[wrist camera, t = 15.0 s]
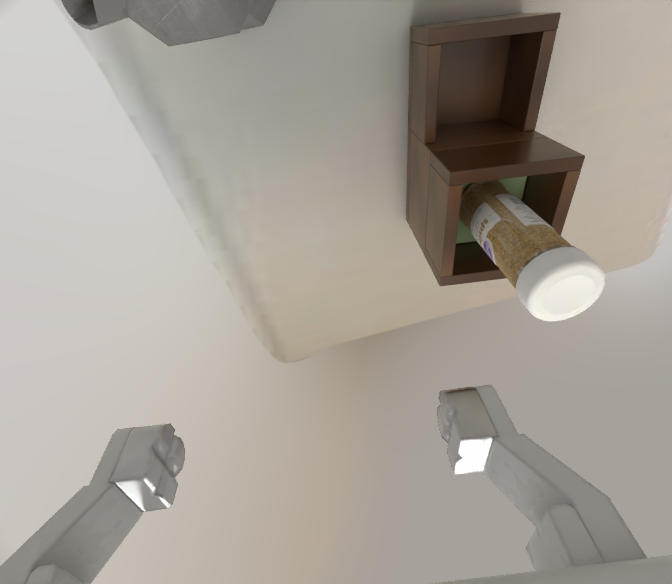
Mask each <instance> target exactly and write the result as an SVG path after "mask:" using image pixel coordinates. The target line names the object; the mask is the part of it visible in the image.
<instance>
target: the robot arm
mask: <svg viewBox="0 0 672 584" xmlns="http://www.w3.org/2000/svg"><path fill="white" fill-rule="evenodd" d="M439 401H440V404H441V405H439V407H438V408H437V409H438V410H437V418H438V425H439V429H440V433H441V435H442V438H443V439H444V440H445V441H446V442H447V443H448V448H447V454H448V457H449V460H450V463H451V466H452V469H453V471H454V474H461V473H473V472H483V473H484V474H485V475H486V476H487V477H488V478H489V479H490V480H491V481H492V482H493V484H495V486H496V487H497V488H498V489H499V490H500V491H501V492H502V493H503V494H504V495H505V496H506V497H507V498H508V499H509V500H510V501H511V502H512V503H513V504H514V505H515V506H516V507H517V508H518V509H519V510H520V511H521V512H522V513H523V514H524V515H525V516H526V517H527V518H528V519H529V520H530V521H531V522H532V523H533V524H534V525H535V526H536V527H537V529H536V530H535V532H534V534H533V536H532V537H531V539H530V541H529V542H528V544H527V546H526V549H527V552H528V554H529V557H530V559H531V562H532V564H533V567H534V569H535V571H532V572H524V573H516V574H507V575H499V576H491V577H482V578H473V579H466V580H457V581H448V582H439V583H431V584H672V555H669V556H660V557H652V558H647V557H646V555H645V554H644V552H643V551H642V549H641V548H640V546H639V544H638V543H637V541H636V540H635V538H634V537H633V535H632V533H631V532H630V530H629V528H628V527H627V525H626V524H625V522H624V521H623V519H622V517H621V516H620V514H619V513H618V511H617V510H616V508H615V506H614V505H613V503H612V502H611V500H610V498H609V497H608V496H606V495H605V494H604V493H602V492H601V491H600V490H598V489H597V488H596V487H594V486H593V485H591V484H590V483H589V482H587V481H586V480H585V479H583V478H582V477H581V476H579V475H578V474H577V473H575V472H574V471H573V470H571V469H570V468H569V467H567V466H566V465H565V464H563V463H562V462H561V461H559V460H558V459H557V458H555V457H554V456H552V455H551V454H550V453H548V452H547V451H545V450H544V449H543V448H542V447H540V446H539V445H538V444H536V443H535V442H534V441H532V440H531V439H530V438H528V437H527V436H526V435H524V434H520V435H519V434H518V433H517V431H516V429H515V427H514V425H513V423H512V421H511V419H510V417H509V415H508V413H507V412H506V409H505V408H504V406H503V404H502V402H501V400H500V398H499V396H498V394H497V392H496V390H495V388H494V387H493V386H491V385H484V386H477V387H465V388H458V389H451V390H444V391H440V393H439ZM174 431H175V429H174V428H173V426H172V425H171V424H164V425H154V426H144V427H133V428H125V429H117V431H116V432H115V433H114V434H113V435H112V437H111V439H110V441H109V444H108V446H107V448H106V450H105V452H104V454H103V456H102V458H101V461H100V463H99V465H98V467H97V469H96V471H95V474H94V476H93V478H92V480H91V482H90V484H89V486H84V487H83V488H82V489H81V490H80V491H78V492H77V493H76V494H75V495H74V496H73V497H72V498H71V499H70V500H69V501H68V502H67V503H66V504H65V505H64V506H63V507H62V508H61V509H60V510H59V511H58V512H57V513H56V514H55V515H54V516H52V517H51V518H50V519H49V520H48V521H47V522H46V523H45V524H44V525H43V526H42V527H41V528H40V529H39V530H38V531H37V532H36V533H35V534H34V535H33V536H32V537H31V538H29V539H28V540H27V541H26V542H25V543H24V544H23V545H22V546H21V547H20V548H19V549H18V550H17V551H16V552H15V553H14V554H13V555H12V556H11V557H10V558H9V559H8V560H7V561H5V562H4V563H3V564H2V565H1V566H0V584H91V582H92V581H93V580H94V578H95V577H96V576H97V574H98V573H99V572H100V570H101V569H102V568H103V567H104V565H105V564H106V563H107V561H108V560H109V559H110V557H111V556H112V554H113V553H114V552H115V550H116V549H117V548H118V547H119V545H120V544H121V542H122V541H123V540H124V538H125V537H126V536H127V534H128V533H129V532H130V530H131V529H132V528H133V527H134V525H135V524H136V522H137V521H138V520H139V518H140V517H141V516H142V515H143V513H142V512H146V511H153V510H159V509H166V508H171V507H172V505H173V501H174V497H175V493H176V490H177V486H178V483H177V481H176V479H175V477H176V475H177V474H178V473H179V472H180V471H181V470H182V468H183V464H184V459H185V448H184V444H183V442H182V440H181V438H179V437H177V436H175V435H174Z"/></svg>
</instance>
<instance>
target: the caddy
mask: <svg viewBox="0 0 672 584" xmlns="http://www.w3.org/2000/svg"><path fill="white" fill-rule="evenodd" d="M560 14H561V13H517V14H509V15H501V16H493V17H485V18H477V19H469V20H461V21H453V22H445V23H437V24H429V25H421V26H413V27H410V61H409V111H408V160H407V209H406V220H407V222H408V224H409V226H410V228H411V230H412V231H413V233H414V235H415V237H416V239H417V241H418V243H419V245H420V247H421V249H422V251H423V253H424V255H425V257H426V259H427V261H428V263H429V265H430V267H431V269H432V271H433V273H434V275H435V277H436V279H437V281H438V283H439V285H440V286H446V285H454V284H463V283H471V282H479V281H487V280H495V279H504V278H507V277H506V276H505V275H504V274H503V272H502V271H501V270H500V268H499V267H498V266H497V265H495V263H494V262H493V261H492V260H491V258H490V257H489V256H488V255H487V253H486V252H485V251H484V249H483V248H482V247H481V246H480V244H479V243H478V242H477V241H476V239H475V238H474V237H473V235H472V233H471V231H470V230H469V229H468V227H466V225H464V224H463V223H462V222H461V221H460V220H459V212H460V203H461V195H462V194H463V193H464V191H465V190H466V189H467V188H468V187H469V186H471V185H472V184H473V183H475V182H483V181H491V180H496V181H499V182H500V183H502V184H503V185H504V186H505V188H506V189H507V191H508V192H509V193H511V194H512V195H513V196H516V197H517V198H518V199H520V200H521V201H522V202H523V203H524V204H526V205H527V206H528V207H529V208H530V209H531V210H533V211H534V212H535V213H536V214H537V215H538V216H539V217H541V218H542V219H543V220H544V221H545V222H547V223H548V224H549V225H550V226H551V227H553V228H554V229H555V231H556V232H557V233H558V234H559V235H560V236H561V232H562V229H563V226H564V223H565V220H566V216H567V213H568V210H569V207H570V204H571V200H572V197H573V194H574V191H575V188H576V184H577V181H578V178H579V175H580V172H581V170H580V169H581V168H582V165H583V161H584V158H585V156H584V155H582V154H580V153H578V152H576V151H574V150H572V149H570V148H568V147H566V146H564V145H562V144H560V143H558V142H556V141H554V140H552V139H550V138H548V137H546V136H544V135H542V134H540V133H538V132H536V131H534V130H535V127H536V122H537V118H538V113H539V109H540V104H541V100H542V95H543V90H544V86H545V81H546V77H547V72H548V68H549V63H550V59H551V54H552V49H553V45H554V40H555V36H556V31H557V30H556V29H557V28H558V23H559V18H560Z"/></svg>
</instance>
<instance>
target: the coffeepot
mask: <svg viewBox="0 0 672 584" xmlns="http://www.w3.org/2000/svg"><path fill="white" fill-rule="evenodd" d="M275 1H276V0H62V3H63V5H64V7H65V8H66V10H67V12H68V13H69V14H70V16H71V17H72V18H73V19H74V20H75V21H76V22H77V23H78V24H79V25H80V26H81V27H84V28H86V29H89V30H92V29H95V28H98V27H101V26H104V25H107V24H110V23H113V22H116V21H119V20H122V19H125V18H128V17H129V18H130V19H132V20H133V21H134V22H136V23H137V24H139V25H140V26H141V27H143V28H144V29H146V30H147V31H148V32H150V33H151V34H153V35H154V36H155V37H157V38H158V39H160V40H161V41H162V42H164V43H165V44H167V45H168V46H174V45H179V44H186V43H191V42H196V41H202V40H207V39H212V38H217V37H222V36H226V35H231V34H236V33H240V31H241V30H242V29H247V28H252V27H257V26H262V25H264V23H265V21H266V19H267V17H268V15H269V13H270V11H271V9H272V7H273V5H274V3H275Z"/></svg>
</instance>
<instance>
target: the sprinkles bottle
mask: <svg viewBox="0 0 672 584" xmlns="http://www.w3.org/2000/svg"><path fill="white" fill-rule="evenodd" d="M459 220H460V221H461V222H462V223H463V224H464V225H466V227H468V229H469V230H470V231H471V233H472V235H473V237H474V238H475V239H476V241H477V242H478V243H479V244H480V246H481V247H482V248H483V249H484V251H485V252H486V253H487V255H488V256H489V257H490V258H491V260H492V261H493V262H494V263H495V265H497V266H498V267H499V268H500V270H501V271H502V272H503V274H504V275H505V276H506V277H507V278H508V280H509V281H510V283H511V284H512V285H513V286H514V288H515V289H516V293H517V296H518V298H519V299H520V300H521V302H522V303H523V304H524V306H525V307H526V308H527V309H528V310H529V312H530V313H531V314H532V315H533V316H535V317H536V318H538V319H541V320H545V321H559V320H563V319H567V318H570V317H573V316H575V315H577V314H579V313H581V312H583V311H584V310H585V309H587V308H588V307H589V306H591V305H592V304H593V303H594V302H595V301H596V300H597V298H598V297H599V296H600V294H601V292H602V291H603V288H604V285H605V273H604V271H603V269H602V268H601V267H600V266H599V265H598V264H597V263H596V262H595V261H594V260H593V259H592V258H591V257H590V256H589V255H587V254H586V253H585V252H584V251H582V250H580V249H578V248H576V247H574V246H572V245H570V244H569V243H568V242H567V241H566V240H565V239H563V238H562V237H561V236H560V235H559V234H558V233H557V232H556V231H555V229H554V228H553V227H551V226H550V225H549V224H548V223H547V222H545V221H544V220H543V219H542V218H541V217H539V216H538V215H537V214H536V213H535V212H534V211H533V210H531V209H530V208H529V207H528V206H527V205H526V204H524V203H523V202H522V201H521V200H520V199H518V198H517V197H516V196H513V195H512V194H511V193H509V192H508V191H507V189H506V188H505V186H504V185H503V184H502V183H500V182H499V181H496V180H491V181H483V182H475V183H473V184H472V185H471V186H469V187H468V188H467V189H466V190H465V191H464V193H463V194H462V195H461V203H460V212H459Z"/></svg>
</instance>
